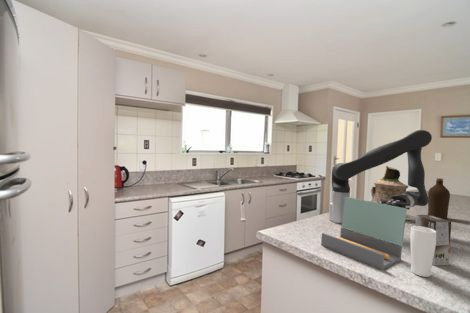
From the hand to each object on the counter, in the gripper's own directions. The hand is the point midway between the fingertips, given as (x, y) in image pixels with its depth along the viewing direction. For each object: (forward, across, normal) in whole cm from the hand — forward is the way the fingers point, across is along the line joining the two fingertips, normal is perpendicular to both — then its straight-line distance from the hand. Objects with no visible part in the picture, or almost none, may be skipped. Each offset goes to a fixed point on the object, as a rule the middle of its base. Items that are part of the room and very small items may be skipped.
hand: (385, 206), depth 106 cm
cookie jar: (-54, -21, +17) cm, 61 cm away
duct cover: (+12, 0, +4) cm, 13 cm away
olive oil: (-78, -2, +18) cm, 80 cm away
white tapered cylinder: (+19, +20, +16) cm, 32 cm away
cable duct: (+20, 0, +16) cm, 26 cm away
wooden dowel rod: (+20, 0, +15) cm, 25 cm away
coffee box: (+3, +18, +17) cm, 24 cm away
